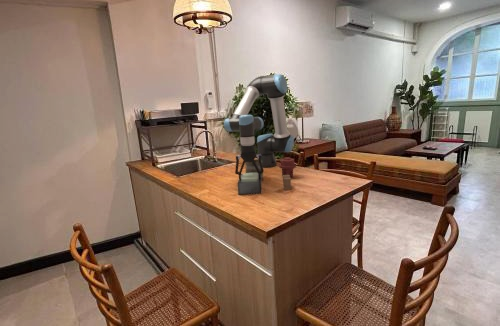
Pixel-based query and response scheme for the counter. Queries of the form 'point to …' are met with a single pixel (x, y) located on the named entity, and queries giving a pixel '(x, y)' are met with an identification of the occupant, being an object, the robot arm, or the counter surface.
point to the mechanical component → (287, 166)
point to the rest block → (287, 182)
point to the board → (249, 177)
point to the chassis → (249, 187)
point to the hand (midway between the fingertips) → (250, 185)
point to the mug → (253, 168)
